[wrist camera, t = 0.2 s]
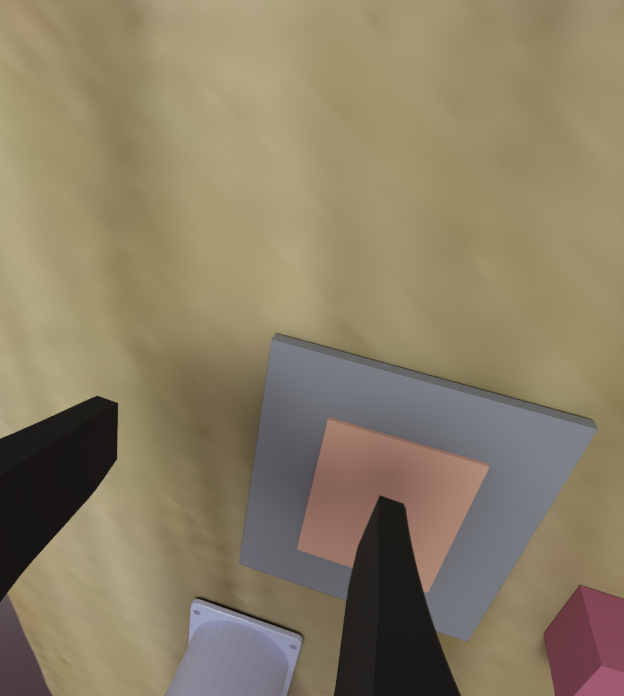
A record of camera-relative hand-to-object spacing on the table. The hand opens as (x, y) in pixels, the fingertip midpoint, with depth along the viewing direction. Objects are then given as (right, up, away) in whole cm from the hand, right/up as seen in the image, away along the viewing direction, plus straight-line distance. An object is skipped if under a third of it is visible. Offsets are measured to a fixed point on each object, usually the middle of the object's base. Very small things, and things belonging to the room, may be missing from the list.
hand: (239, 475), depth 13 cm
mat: (+6, -5, +12) cm, 14 cm away
